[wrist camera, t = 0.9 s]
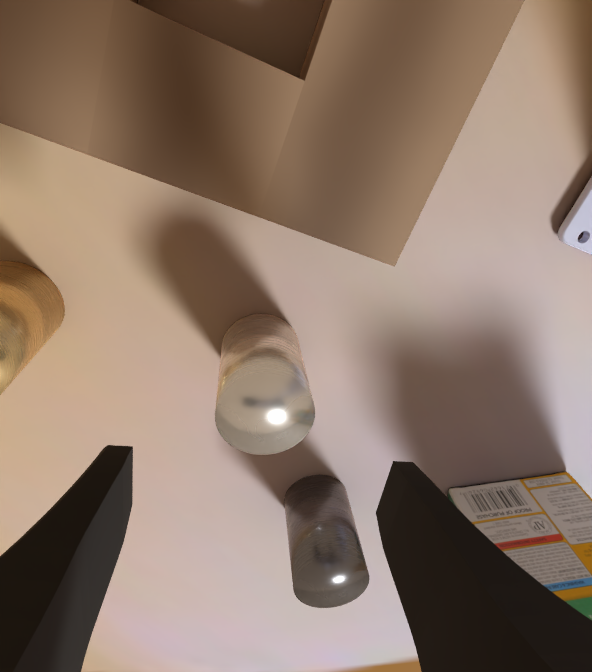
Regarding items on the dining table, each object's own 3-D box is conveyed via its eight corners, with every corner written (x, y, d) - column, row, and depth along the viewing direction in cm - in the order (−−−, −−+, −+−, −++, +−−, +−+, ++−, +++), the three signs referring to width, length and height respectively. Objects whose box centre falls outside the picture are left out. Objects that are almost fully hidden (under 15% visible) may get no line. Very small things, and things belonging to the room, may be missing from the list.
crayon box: (442, 523, 26) (570, 783, 16) (446, 487, 25) (587, 745, 15) (558, 506, 27) (753, 748, 17) (568, 469, 26) (787, 709, 15)
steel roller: (310, 327, 20) (330, 388, 15) (283, 389, 21) (294, 463, 17) (235, 303, 19) (232, 361, 14) (211, 370, 20) (202, 443, 16)
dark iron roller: (356, 482, 24) (382, 564, 20) (331, 525, 26) (350, 611, 21) (297, 469, 23) (310, 552, 19) (275, 514, 25) (282, 602, 20)
